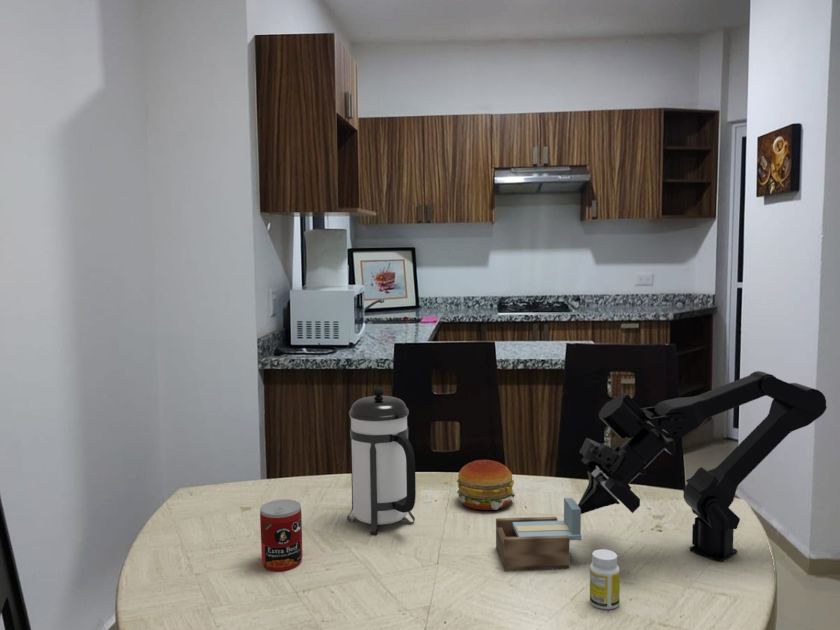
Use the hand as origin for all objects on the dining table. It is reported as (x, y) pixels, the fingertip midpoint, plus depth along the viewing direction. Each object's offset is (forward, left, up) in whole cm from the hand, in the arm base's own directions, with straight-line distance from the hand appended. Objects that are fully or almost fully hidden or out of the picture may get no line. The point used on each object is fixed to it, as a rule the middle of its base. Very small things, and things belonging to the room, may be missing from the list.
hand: (577, 512), depth 131 cm
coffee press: (+37, +19, -9) cm, 42 cm away
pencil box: (+5, +7, -9) cm, 12 cm away
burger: (+32, -6, -9) cm, 34 cm away
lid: (+3, +5, -4) cm, 7 cm away
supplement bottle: (-14, +10, -9) cm, 20 cm away
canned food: (+34, +45, -9) cm, 57 cm away
